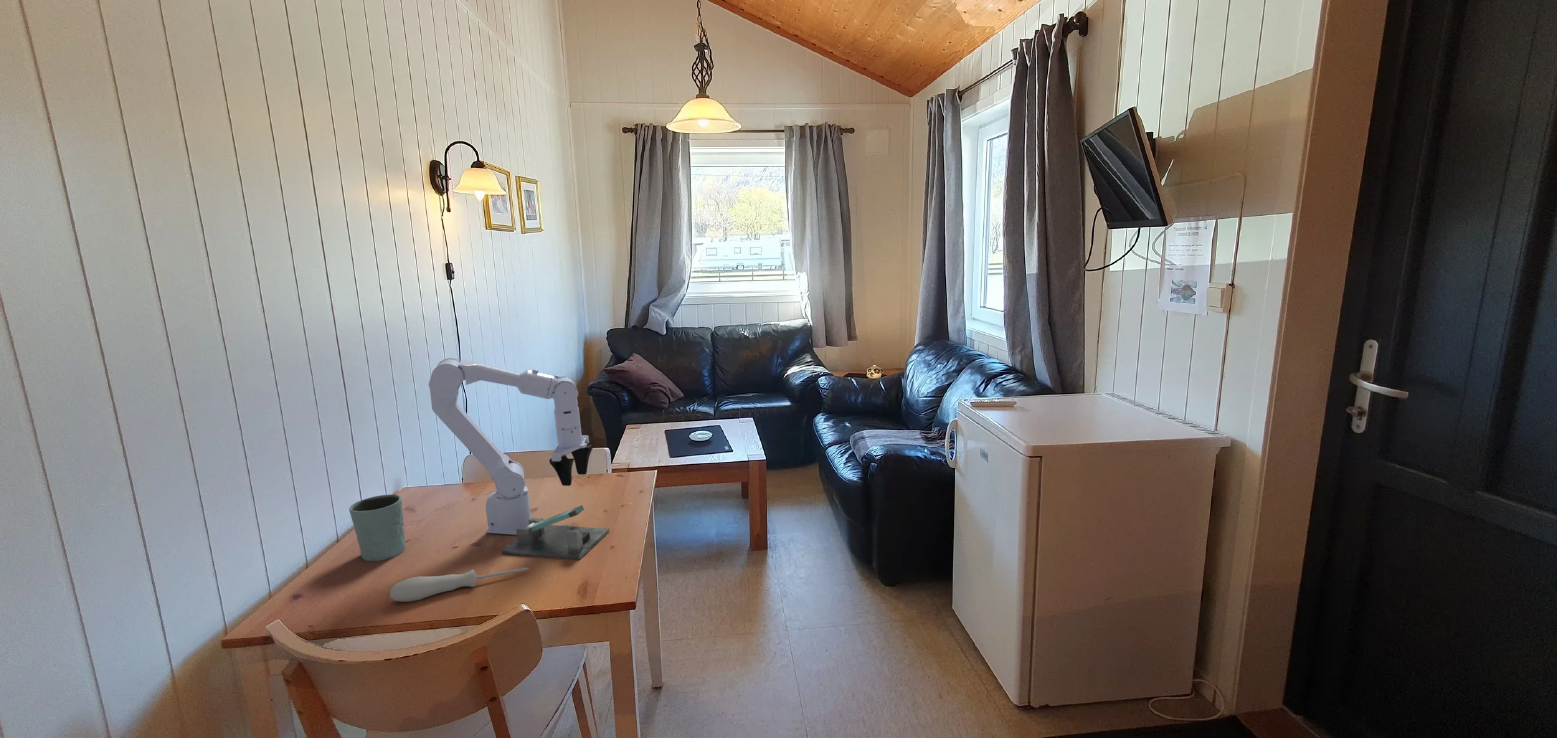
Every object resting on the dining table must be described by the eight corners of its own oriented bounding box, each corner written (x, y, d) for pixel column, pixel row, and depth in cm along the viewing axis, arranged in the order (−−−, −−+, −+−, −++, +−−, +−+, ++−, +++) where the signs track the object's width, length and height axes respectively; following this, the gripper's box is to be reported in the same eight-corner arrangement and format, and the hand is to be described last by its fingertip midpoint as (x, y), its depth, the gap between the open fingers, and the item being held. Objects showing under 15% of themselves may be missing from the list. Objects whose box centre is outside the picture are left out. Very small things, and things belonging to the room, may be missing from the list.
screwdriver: (530, 583, 133) (530, 567, 131) (390, 610, 122) (388, 592, 120) (528, 569, 137) (527, 553, 135) (392, 594, 126) (390, 576, 124)
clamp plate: (501, 553, 143) (498, 530, 142) (537, 527, 156) (534, 505, 155) (579, 559, 139) (577, 535, 138) (609, 531, 152) (607, 509, 151)
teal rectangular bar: (525, 535, 147) (522, 529, 147) (532, 529, 150) (529, 523, 150) (577, 515, 143) (574, 509, 143) (584, 510, 146) (581, 504, 146)
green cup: (381, 565, 139) (372, 513, 137) (345, 560, 142) (337, 509, 140) (419, 544, 149) (412, 495, 146) (385, 540, 152) (378, 492, 149)
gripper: (568, 435, 149) (574, 490, 152) (597, 418, 163) (603, 469, 166) (540, 435, 151) (547, 490, 153) (572, 418, 164) (578, 469, 167)
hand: (574, 479), depth 159 cm, fingers open, 7 cm apart
